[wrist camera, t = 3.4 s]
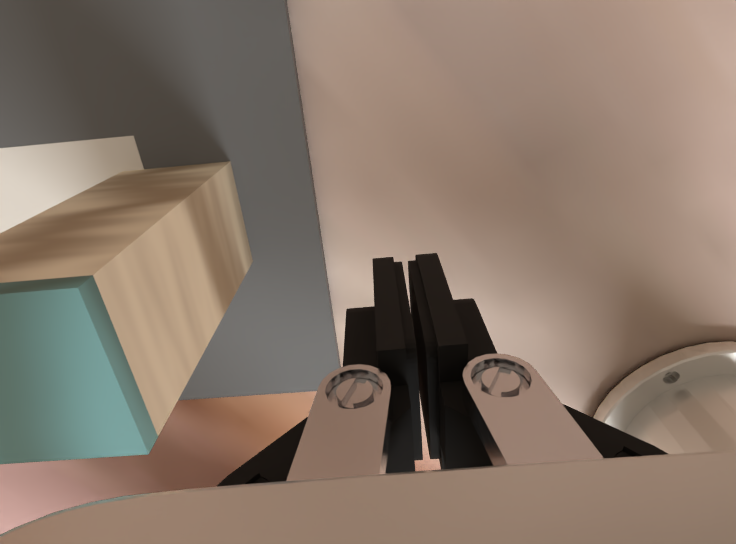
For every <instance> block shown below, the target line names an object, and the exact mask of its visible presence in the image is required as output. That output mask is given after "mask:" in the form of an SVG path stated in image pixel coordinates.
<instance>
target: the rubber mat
mask: <svg viewBox="0 0 736 544" xmlns="http://www.w3.org/2000/svg"><path fill="white" fill-rule="evenodd" d="M229 161H230V162H231V166H232V171H233V175H234V180H235V184H236V189H237V193H238V198H239V202H240V206H241V211H242V215H243V220H244V224H245V229H246V233H247V237H248V242H249V246H250V251H251V255H252V260H253V262H252V264H251V266H250V268H249V270H248V271H247V273H246V275H245V277H244V279H243V281H242V283H241V284H240V286H239V288H238V290H237V292H236V294H235V296H234V297H233V299H232V301H231V303H230V305H229V307H228V308H227V310H226V312H225V314H224V316H223V318H222V320H221V321H220V323H219V325H218V327H217V329H216V331H215V333H214V334H213V336H212V338H211V340H210V342H209V344H208V346H207V347H206V349H205V351H204V353H203V355H202V357H201V358H200V360H199V362H198V364H197V366H196V368H195V370H194V371H193V373H192V375H191V377H190V379H189V381H188V383H187V384H186V386H185V388H184V390H183V392H182V394H181V396H180V397H179V399H178V400H190V399H205V398H219V397H234V396H249V395H264V394H279V393H294V392H308V391H317V390H318V387H319V385H320V383H321V382H322V380H323V379H324V378H325V377H326V376H327V375H328V374H329V373H331V372H333V371H334V370H336V369H338V368H341V366H340V360H339V353H338V346H337V339H336V332H335V326H334V319H333V312H332V305H331V299H330V292H329V285H328V278H327V271H326V265H325V258H324V251H323V244H322V238H321V231H320V224H319V217H318V210H317V204H316V197H315V190H314V183H313V177H312V170H311V163H310V156H309V149H308V143H307V136H306V129H305V122H304V116H303V109H302V102H301V95H300V88H299V82H298V75H297V68H296V61H295V55H294V48H293V41H292V34H291V27H290V21H289V14H288V7H287V0H0V233H2V232H4V231H6V230H8V229H10V228H12V227H14V226H16V225H18V224H20V223H22V222H24V221H26V220H28V219H29V218H31V217H33V216H35V215H37V214H39V213H41V212H43V211H45V210H47V209H49V208H51V207H53V206H55V205H57V204H59V203H61V202H63V201H65V200H67V199H69V198H71V197H73V196H75V195H77V194H79V193H81V192H83V191H85V190H87V189H89V188H91V187H93V186H95V185H97V184H99V183H101V182H103V181H105V180H107V179H108V178H110V177H112V176H114V175H116V174H118V173H120V172H122V171H132V170H143V169H154V168H165V167H175V166H186V165H197V164H208V163H218V162H229Z"/></svg>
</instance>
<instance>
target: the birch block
mask: <svg viewBox="0 0 736 544" xmlns="http://www.w3.org/2000/svg"><path fill="white" fill-rule="evenodd" d="M252 262H253V260H252V255H251V251H250V246H249V242H248V237H247V233H246V229H245V224H244V220H243V215H242V211H241V206H240V202H239V198H238V193H237V189H236V184H235V180H234V175H233V171H232V166H231V162H230V161H229V162H218V163H208V164H197V165H186V166H175V167H165V168H154V169H143V170H132V171H122V172H120V173H118V174H116V175H114V176H112V177H110V178H108V179H107V180H105V181H103V182H101V183H99V184H97V185H95V186H93V187H91V188H89V189H87V190H85V191H83V192H81V193H79V194H77V195H75V196H73V197H71V198H69V199H67V200H65V201H63V202H61V203H59V204H57V205H55V206H53V207H51V208H49V209H47V210H45V211H43V212H41V213H39V214H37V215H35V216H33V217H31V218H29V219H28V220H26V221H24V222H22V223H20V224H18V225H16V226H14V227H12V228H10V229H8V230H6V231H4V232H2V233H0V464H10V463H25V462H40V461H56V460H71V459H86V458H101V457H116V456H131V455H147V454H149V453H150V451H151V449H152V447H153V446H154V444H155V442H156V440H157V438H158V436H159V434H160V433H161V431H162V429H163V427H164V425H165V423H166V421H167V420H168V418H169V416H170V414H171V412H172V410H173V408H174V407H175V405H176V403H177V401H178V399H179V397H180V396H181V394H182V392H183V390H184V388H185V386H186V384H187V383H188V381H189V379H190V377H191V375H192V373H193V371H194V370H195V368H196V366H197V364H198V362H199V360H200V358H201V357H202V355H203V353H204V351H205V349H206V347H207V346H208V344H209V342H210V340H211V338H212V336H213V334H214V333H215V331H216V329H217V327H218V325H219V323H220V321H221V320H222V318H223V316H224V314H225V312H226V310H227V308H228V307H229V305H230V303H231V301H232V299H233V297H234V296H235V294H236V292H237V290H238V288H239V286H240V284H241V283H242V281H243V279H244V277H245V275H246V273H247V271H248V270H249V268H250V266H251V264H252Z"/></svg>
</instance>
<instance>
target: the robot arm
mask: <svg viewBox="0 0 736 544" xmlns="http://www.w3.org/2000/svg"><path fill="white" fill-rule="evenodd" d="M408 271H409V289H410V306H411V312H410V306H409V300H408V295H407V289H406V283H405V277H404V272H403V266H402V262H394V260H393V257H386V258H375V259H373V279H374V303H375V307H363V308H351V309H347V311H346V325H345V341H344V357H343V367H341V368H338V369H336V370H334V371H333V372H331V373H329V374H328V375H327V376H326V377H325V378H324V379H323V380H322V382H321V383H320V385H319V387H318V390H317V393H316V395H315V398H314V401H313V404H312V407H311V410H310V413H309V416H308V417H307V418H305V419H304V420H303V421H301V422H300V423H299V424H297V425H296V426H295V427H293V428H292V429H291V430H289V431H288V432H287V433H285V434H284V435H282V436H281V437H280V438H278V439H277V440H276V441H274V442H273V443H272V444H270V445H269V446H268V447H266V448H265V449H264V450H262V451H261V452H259V453H258V454H257V455H255V456H254V457H253V458H251V459H250V460H249V461H247V462H246V463H245V464H243V465H242V466H241V467H239V468H238V469H236V470H235V471H234V472H232V473H231V474H230V475H228V476H227V477H226V478H225V479H224V480H223V481H222V482H221V483H220V484H218V485H217V487H204V488H191V489H182V490H173V491H165V492H156V493H147V494H138V495H129V496H122V497H116V498H111V499H106V500H100V501H95V502H90V503H86V504H83V505H79V506H75V507H72V508H68V509H65V510H61V511H57V512H54V513H51V514H49V515H46V516H44V517H41V518H38V519H36V520H33V521H31V522H28V523H25V524H23V525H20V526H18V527H15V528H13V529H11V530H9V531H7V532H5V533H3V534H1V535H0V544H736V342H733V341H726V342H712V343H704V344H699V345H695V346H690V347H685V348H682V349H679V350H677V351H674V352H671V353H668V354H665V355H663V356H661V357H659V358H657V359H655V360H653V361H651V362H649V363H647V364H645V365H643V366H641V367H640V368H638V369H637V370H636V371H634V372H633V373H631V374H630V375H628V376H627V377H626V378H624V379H623V380H622V381H621V382H620V383H619V384H618V385H617V386H616V387H615V388H614V389H613V390H612V391H611V392H610V393H609V394H608V395H607V396H606V398H605V399H604V400H603V402H602V403H601V404H600V406H599V407H598V409H597V411H596V413H595V415H594V417H593V418H592V417H590V416H588V415H586V414H584V413H581V412H579V411H577V410H575V409H573V408H570V407H568V406H566V405H564V404H562V403H561V402H560V401H559V399H558V398H557V397H556V395H555V394H554V393H553V391H552V390H551V389H550V388H549V386H548V385H547V384H546V382H545V381H544V380H543V378H542V377H541V376H540V375H539V373H538V372H537V371H536V370H535V369H534V368H533V367H532V366H531V365H530V364H529V363H527V362H526V361H524V360H522V359H520V358H517V357H514V356H511V355H506V354H498V353H497V352H496V350H495V347H494V345H493V342H492V340H491V338H490V335H489V333H488V331H487V328H486V326H485V324H484V321H483V319H482V317H481V314H480V312H479V310H478V307H477V305H476V303H475V301H474V299H472V298H471V299H459V300H453V298H452V295H451V292H450V290H449V287H448V284H447V281H446V278H445V275H444V272H443V269H442V266H441V263H440V260H439V258H438V255H437V253H433V254H421V255H416V260H415V261H408ZM419 393H420V398H419ZM420 399H421V405H422V411H423V418H424V424H425V430H426V437H427V443H428V449H429V455H430V459H439V461H440V466H441V470H428V471H415V462H414V460H423V455H422V436H421V417H420Z"/></svg>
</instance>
